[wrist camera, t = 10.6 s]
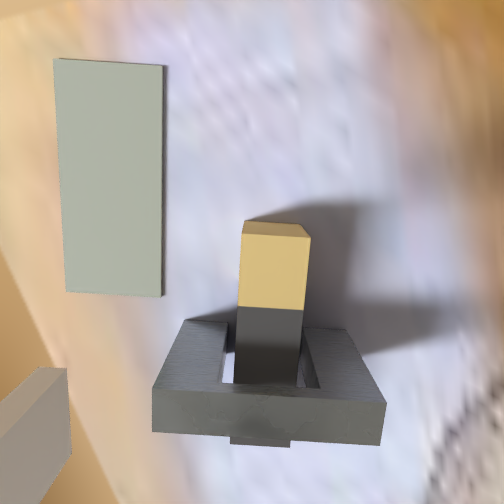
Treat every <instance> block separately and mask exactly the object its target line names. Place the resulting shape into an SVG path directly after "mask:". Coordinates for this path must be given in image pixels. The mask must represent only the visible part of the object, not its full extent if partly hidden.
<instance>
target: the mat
mask: <svg viewBox="0 0 504 504" xmlns="http://www.w3.org/2000/svg"><path fill="white" fill-rule="evenodd" d="M53 69H54V87H55V105H56V123H57V141H58V159H59V177H60V195H61V213H62V231H63V249H64V267H65V285H66V292H76V293H92V294H108V295H124V296H140V297H156V298H161V297H162V167H163V66H159V65H144V64H128V63H113V62H98V61H83V60H67V59H53Z"/></svg>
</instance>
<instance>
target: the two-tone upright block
mask: <svg viewBox="0 0 504 504" xmlns="http://www.w3.org/2000/svg"><path fill="white" fill-rule="evenodd" d="M310 241H311V238H310V236H309V235H308V234H307V233H306V231H305V230H304V229H303V228H302V226H301V225H300V224H289V223H273V222H257V221H244V225H243V230H242V236H241V254H240V271H239V289H238V307H237V325H236V343H235V361H234V379H233V384H248V385H264V386H280V387H296V381H297V371H298V361H299V351H300V341H301V331H302V321H303V311H304V301H305V291H306V281H307V271H308V261H309V251H310ZM290 441H291V440H277V439H260V438H244V437H230V444H237V445H254V446H270V447H287V448H290Z"/></svg>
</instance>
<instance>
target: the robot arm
mask: <svg viewBox="0 0 504 504" xmlns="http://www.w3.org/2000/svg"><path fill="white" fill-rule="evenodd" d="M71 447H72V446H71V430H70V415H69V398H68V381H67V368H50V367H38V368H37V369H36V370H35V371H34V372H33V373H32V374H30V375H29V376H28V377H27V378H26V379H25V380H24V381H23V382H22V383H21V384H20V385H19V386H17V387H16V389H14V390H13V391H12V392H11V393H10V394H9V395H8V396H7V397H5V398H4V399H3V400H2V401H1V402H0V504H39V503H40V502H41V500H42V499H43V497H44V495H45V494H46V492H47V491H48V489H49V488H50V486H51V484H52V483H53V482H54V480H55V478H56V477H57V475H58V474H59V472H60V470H61V469H62V468H63V466H64V465H65V463H66V461H67V460H68V458H69V457H70V455H71V454H72V448H71Z"/></svg>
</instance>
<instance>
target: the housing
mask: <svg viewBox="0 0 504 504" xmlns="http://www.w3.org/2000/svg"><path fill="white" fill-rule="evenodd" d="M227 329H228V323H226V322H210V321H194V320H184V322H183V324H182V326H181V328H180V331H179V333H178V335H177V337H176V339H175V341H174V343H173V345H172V347H171V350H170V352H169V354H168V356H167V358H166V360H165V362H164V364H163V366H162V369H161V371H160V373H159V375H158V377H157V379H156V381H155V383H154V385H153V388H152V432H163V433H179V434H195V435H211V436H228V437H244V438H260V439H277V440H293V441H309V442H325V443H342V444H358V445H374V446H380V441H381V435H382V429H383V423H384V417H385V411H386V405H387V402H386V400H385V399H384V397H383V395H382V393H381V392H380V390H379V388H378V386H377V384H376V383H375V381H374V379H373V377H372V376H371V374H370V372H369V370H368V368H367V367H366V365H365V363H364V361H363V360H362V358H361V356H360V354H359V352H358V351H357V349H356V347H355V345H354V343H353V342H352V340H351V338H350V336H349V335H348V333H347V331H346V330H338V329H322V328H306V327H303V330H302V340H301V349H300V363H301V367H302V371H303V376H304V380H305V384H306V388H296V387H280V386H264V385H248V384H232V383H222V377H223V371H224V365H225V359H226V348H227Z"/></svg>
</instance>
